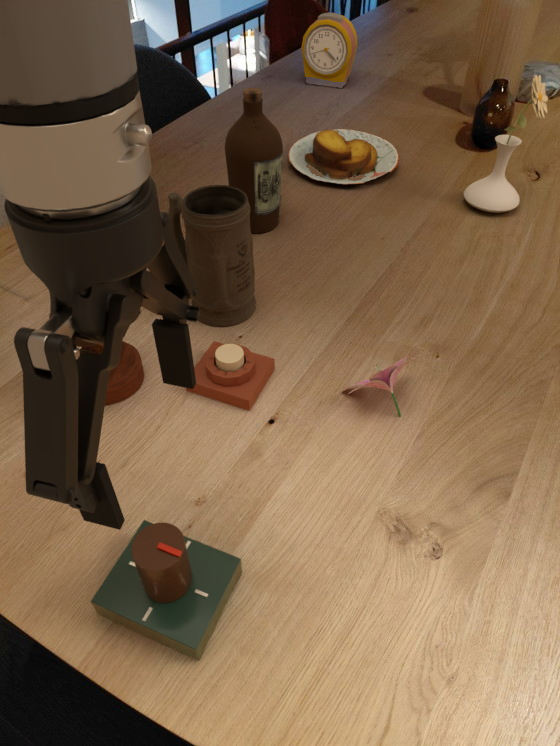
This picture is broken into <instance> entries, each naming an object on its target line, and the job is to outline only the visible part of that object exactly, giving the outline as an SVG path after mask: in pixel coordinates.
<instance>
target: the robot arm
mask: <svg viewBox="0 0 560 746" xmlns="http://www.w3.org/2000/svg"><path fill="white" fill-rule="evenodd" d="M135 49H136V48H135V43H134V36H133V29H132V22H131V15H130V9H129V1H128V0H0V197H2V198H4V199H5V201H4V211H5V214H6V217H7V220H8V223H9V225H10V228H11V231H12V234H13V236H14V240H15V241H16V244H17V247H18V250H19V252H20V253H19V254H20V255H21V259H22V260H23V262H24V264H25V265H26V267H27V268H28V269H29V270H30V272H32V273H33V274H34V275H35V277H37V278H38V279H39V280H40V282H41V283H42V284H44V286H45V287H46V288H47V290H48V292H49V293H48V294H49V298H50V301H49V303H50V305H49V307H50V310H49V311H50V312H49V315H50V314H51V318H50V319H49V318H48V320H47V321H45V322H44V323H43V324H42V325H41V326H40V327H39V328H38V329H36V328H31V327H25V326H24V327H23V326H22V327H20V328H19V329H17V330H16V332H15V334H14V338H13V344H14V348H15V352H16V356H17V358H18V361H19V364H20V367H21V371H22V388H23V389H22V391H23V426H24V430H23V431H24V464H25V466H24V467H25V491H26V494H27V495H29V496H33V497H37V498H41V499H45V500H49V501H51V502H55V503H56V502H57V503H60V504H64V505H68V506H69V507H71V508H72V509H75V510H79V513H80V515H81V517H82V520H83V521H84V522H88V523H92V524H96V525H100V526H103V527H106V528H111V529H114V530H119V531H120V530H121V529H122V528H123V525H124V523H125V521H126V519H125V516H124V514H123V511H122V508H121V505H120V503H119V499H118V496H117V494H116V491H115V488H114V485H113V482H112V480H111V476H110V474H109V471H108V468H107V466H106V463H103V462H98V455H99V448H100V442H101V434H102V428H103V421H104V415H105V409H106V408H105V407H106V406H105V401H106V395H107V388H108V381H109V374H110V371H111V370H112V369H114V368H116V367H117V366H118V365H119V362H120V355H121V348H122V341H123V340H124V338H125V336H126V334H127V332H128V330H129V328H130V326H131V325H132V324H133V323H135V322H136V321H137V320H138V318H139V316H140V315H141V313H142V309H141V308H143V309H145V310H146V311H149V312H151V313H153V314H155V315H157V316H160V317H162V319H161V318H155V319H154V320H153V322H152V323H151V328H152V333H153V334H152V335H153V338H154V343H155V344H154V345H155V348H156V353H157V359H158V364H159V368H160V373H161V374H160V375H161V378H162V383H163V384H165V385H170V386H176V387H180V388H185V389H186V388H189V389H194V387H195V385H196V377H195V370H194V367H195V363H194V357H193V356H194V355H193V349H192V343H191V335H190V327H189V324H188V322H192V323H197V322H198V321H199V320H198V319H199V316H200V308H199V307H197V306H191V304H189V302H190V301H192V300H195V299H196V298H197V295H198V292H199V290H198V285H197V284H196V282H195V280H194V278H193V276H192V274H191V272H190V270H189V268H188V266H187V264H186V262H185V260H184V258H183V256H182V254H181V253H180V251H179V249H178V247H177V245H176V243H175V241H174V239H173V237H172V232H171V227H170V222H169V218H168V212H166V211H160V210H161V209H160V203H159V197H158V191H157V185H156V182H155V180H154V179H153V178H152V177H151V176H150V175H151V174H152V168H153V166H152V159H151V152H150V144H151V143H152V140H153V133H152V132H153V131H152V129H151V127H150V126H149V125H147V124H146V120H145V115H144V109H143V108H144V107H143V103H142V96H141V91H140V83H139V77H138V65H137V57H136V50H135ZM76 337H78V338H80V339H82V340H84V341H86V342H90V343H95V344H100V345H104V346H103V352H102V354H101V353H96V352H91V351H86V350H81V348H79V347H77V346H76ZM123 342H124V341H123Z"/></svg>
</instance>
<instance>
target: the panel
mask: <svg viewBox="0 0 560 746" xmlns="http://www.w3.org/2000/svg"><path fill="white" fill-rule="evenodd" d="M151 524H154V523H153V522H151V521H148V520H145V519H144V520H143V521H142V522H141V524H140V525H139V526H138V528H137V530H136V531H135V532H134V535H133V536H132V537H131V539H130V540H129V542H128V543H127V545H126V546H125V547H124V549H123V551H122V553H121V554H120V556H119V557H118V558H117V560H116V562H115V563H114V565H113V566H112V568H111V569H110V570H109V572H108V574H107V576H106V577H105V579H103V581H102V583H101V585H100V586H99V588H98V589H97V591H96V592H95V594H94V596H93V597H92V599H91V600H90V604H91V605H92V607H93V609H94V611H95V613H96V614H97V615H99V616H101V617H103V618H106V619H108V620H110V621H112V622H114V623H116V624H118V625H121V626H123V627H125V628H127V629H129V630H131V631H134V632H136V633H137V634H140V635H142V636H145V637H146V638H148V639H151V640H153V641H155V642H158V643H159V644H162V645H164V646H165V647H168V648H170V649H172V650H174V651H176V652H179V653H181V654H183V655H185V656H187V657H190V658H192V659H194V660H196V661H198V662H199V661H200V659H201V657H202V656H203V653H204V652H205V649H206V647H207V646H208V644H209V642H210V639H211V638H212V636H213V633H214V632H215V629H216V627H217V626H218V625H217V624H218V623H219V621H220V618H221V616H222V614H223V612H224V610H225V608H226V606H227V604H228V602H229V600H230V599H231V598H230V597H231V596H232V593H233V592H234V590H235V587H236V585H237V584H238V581H239V579H240V577H241V575H242V573H243V565H242V558H240V557H237V556H235V555H233V554H230V553H229V552H225V551H222V550H220V549H217V548H216V547H214V546H211V545H209V544H205V543H204V542H200V541H198V540H196V539H193V538H190V537H188V536H186V535H183V536H184V539H185V544H186V548H187V553H188V557H189V562H190V566H191V571H192V582H191V585H190V587H189V589H188V591H187V592H186V593H185V594H184V595H183V596H182V597H181V598H179V599H178V600H176V601H173V602H170V603H159V602H156V601H154V600H152V599H151V598H149V597H148V595H147V594H146V592H145V590H144V587H143V585H142V582H141V579H140V577H139V574H138V571H137V568H136V566H135V563H134V560H133V557H132V553H131V548H132V543H133V541H134V539H135V537H136V536H137V534H138V533H139V532H140V531H141V530H142V529H144V528H145V527H147V526H149V525H151Z"/></svg>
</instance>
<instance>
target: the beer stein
mask: <svg viewBox="0 0 560 746" xmlns="http://www.w3.org/2000/svg"><path fill="white" fill-rule="evenodd" d="M167 198H168V210H167V211H168V212H167V214H168V218H169V222H170V227H171V232H172V237H173V239H174V241H175V243H176V245H177V247H178V249H179V251H180V253H181V254H182V256H183V258H184V260H185V262H186V264H187V266H188V268H189V270H190V272H191V274H192V276H193V278H194V280H195V282H196V284H197V285H198V290H199V292H198V295H197V298H196V299H195V300H192V299H191V304H190V305H191V306H197V307H199V308H200V316H199V319H198V321H199V322H201V323H203V324H205V325H209V326H211V327H212V326H213V327H220V328H223V327H232V326H235V325H239V324H242V323H244V322H245V321H247V320H249V319H250V318H251V316H252V315H253V314H254V312H255V310H256V305H257V301H256V297H255V292H256V288H255V287H256V286H255V285H256V284H255V283H256V279H255V276H256V271H255V269H256V268H255V261H254V243H253V242H254V241H253V233H251V230H250V205H249V202H248V198H247V195H246V194H245V193H244V192H243V191H242V190H240V189H238V188H236V187H231V186H229V185H226V184H211V185H210V184H209V185H204V186H200V187H197V188H195V189H192V190H190V191H189V192H188V193H187V194H186V195H185V196H184V197H183V198H182V196H181V194H180V193H178V192H170V193H168V195H167ZM181 218H182V220H183V224H184V228H185V229H184V230H185V235H184V233H183V229H182V223H181Z"/></svg>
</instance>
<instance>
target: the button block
mask: <svg viewBox="0 0 560 746" xmlns="http://www.w3.org/2000/svg"><path fill="white" fill-rule="evenodd" d="M224 344H225V343H222V342H219V341H215V340H213V341H212V343H211V344H210V346H209V347H208V348H207V349H206V351H205V352H204V353H203V355H202V356H201V357H200V359H199V360H198V362H197V363H196V365H194V370H195V377H196V385H195V387H194V389H189V388H185V390H186V391H187V392H189V393H193V394H194V395H195V394H196V395H198V396H202V397H205V398H208V399H211V400H214V401H217V402H221V403H224V404H226V405H229V406H231V407H232V406H233V407H236V408H239V409H242V410H244V411H245V410H246V411H248V412H250V411H251V409H252V408H253V406H254V404H255V403H256V401H257V400H258V398H259V396H260V395H261V393H262V392H263V390H264V388H265V386H266V385H267V383H268V381H269V379H270V378H271V377H272V375H273V373H274V371H275V370H276V368H275V366H276V364H275V360H276V359H275V358H273V357H269V356H266V355H262V354H259V353H255V352H252V351H251V350H250V349H249V348H248V347H247V346H244V345H240V344H237V343H235V344H236V345H238V346H240V347H241V348H242V349H243V351H244V364H243V366H242V367H241V368H240V369H239V370H237V371H232V372H225V371H222V370H220V369H219V368H218V367H217V365H216V359H215V352H216V350H217V348H219V347H220V346H222V345H224Z"/></svg>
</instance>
